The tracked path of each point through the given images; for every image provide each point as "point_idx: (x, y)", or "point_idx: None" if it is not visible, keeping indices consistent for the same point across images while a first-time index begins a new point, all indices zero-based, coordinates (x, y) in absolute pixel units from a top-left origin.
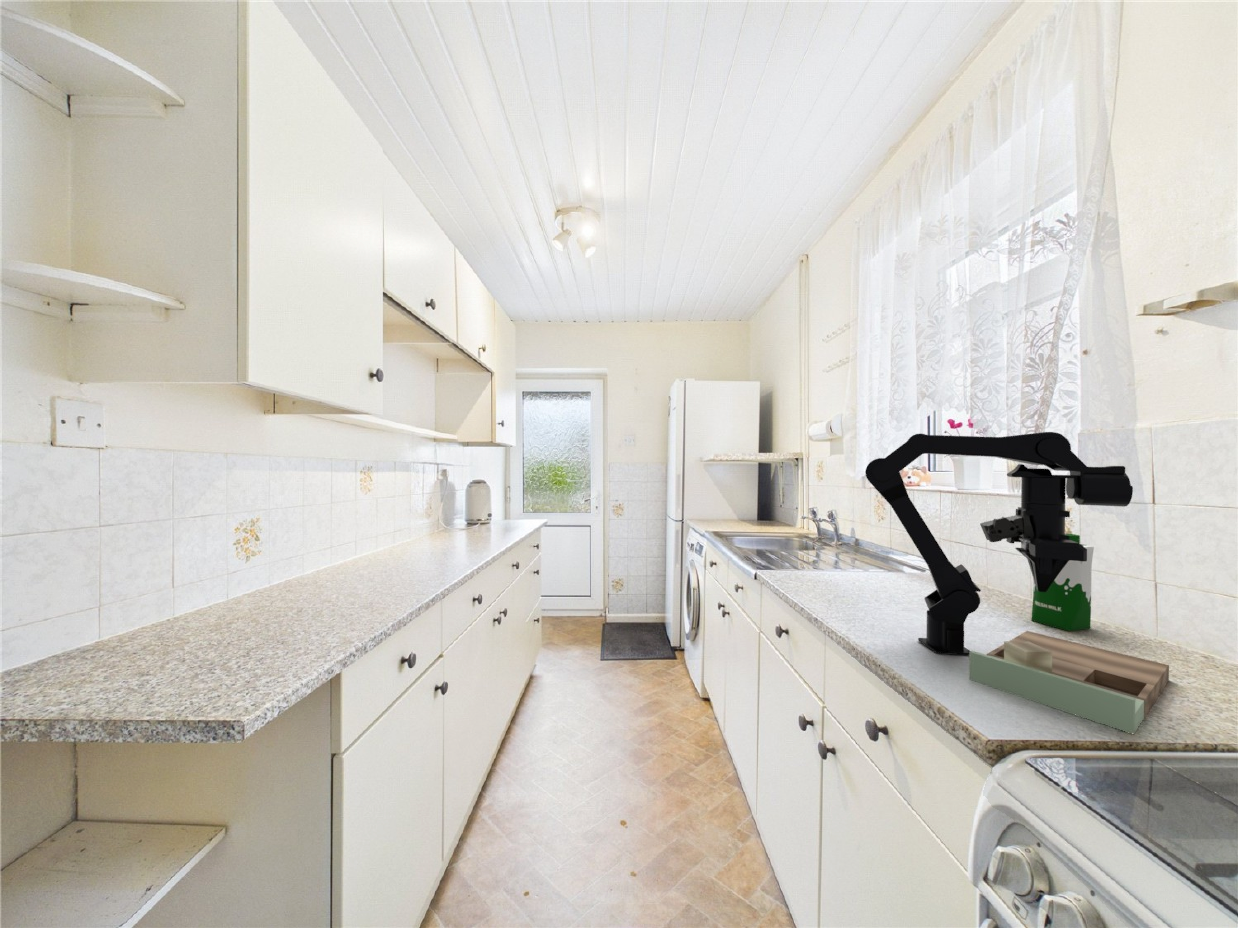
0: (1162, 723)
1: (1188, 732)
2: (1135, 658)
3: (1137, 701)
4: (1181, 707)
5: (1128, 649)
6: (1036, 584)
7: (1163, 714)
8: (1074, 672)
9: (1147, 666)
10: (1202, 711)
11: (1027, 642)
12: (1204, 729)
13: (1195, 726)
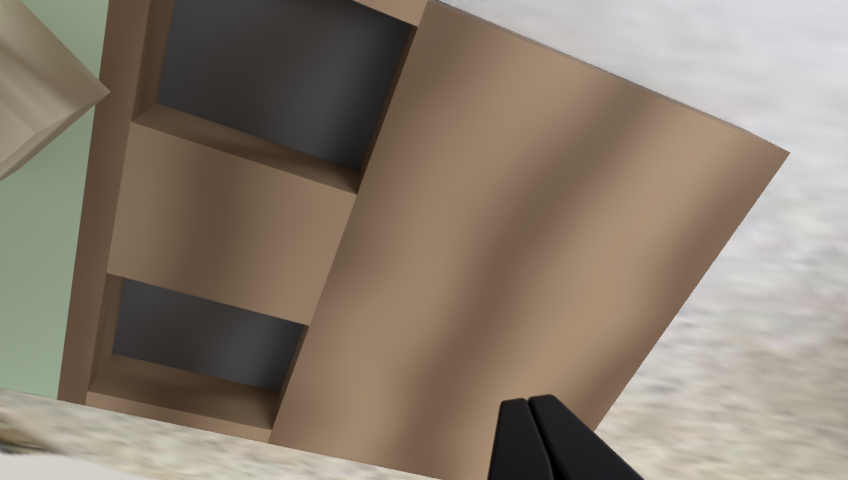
0: None
1: (80, 421)
2: None
3: (24, 383)
4: None
5: (815, 424)
6: (525, 444)
7: None
8: (199, 258)
9: (485, 457)
10: (298, 470)
11: (5, 123)
12: (145, 451)
13: (150, 440)
